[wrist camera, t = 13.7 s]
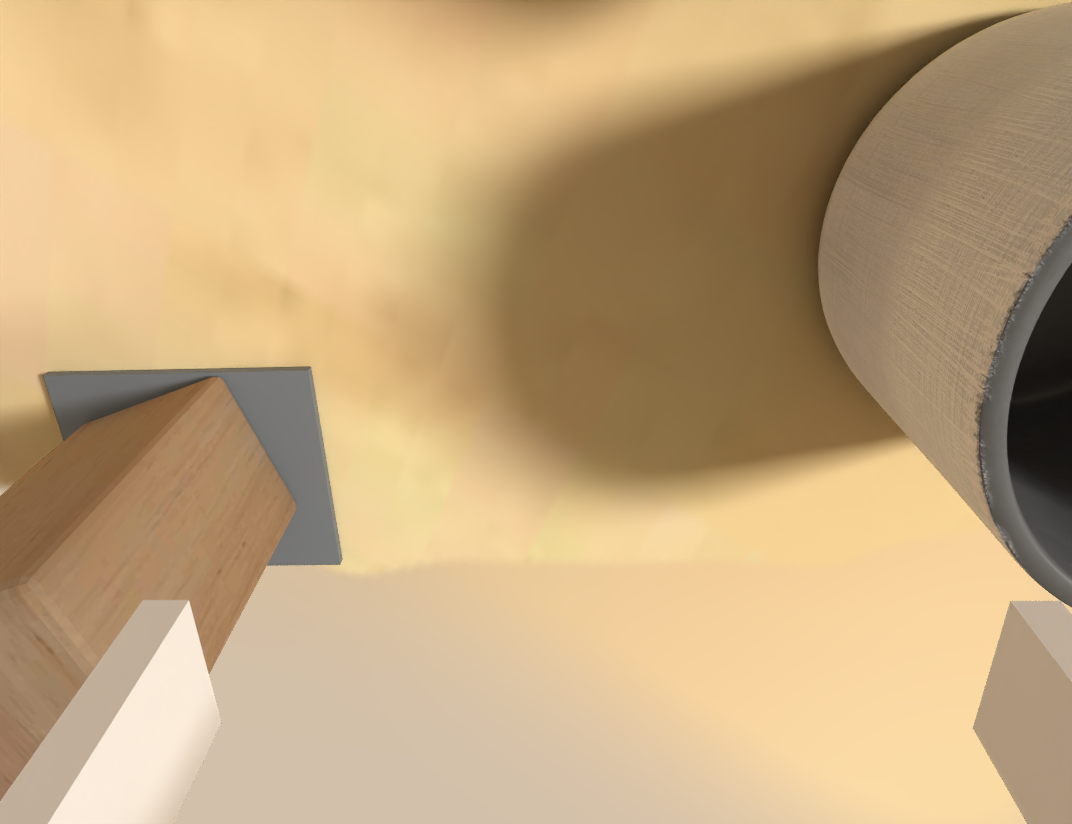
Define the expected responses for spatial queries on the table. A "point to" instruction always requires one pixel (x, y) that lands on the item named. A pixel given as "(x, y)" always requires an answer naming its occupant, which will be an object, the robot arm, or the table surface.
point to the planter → (970, 277)
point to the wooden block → (128, 545)
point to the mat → (273, 413)
